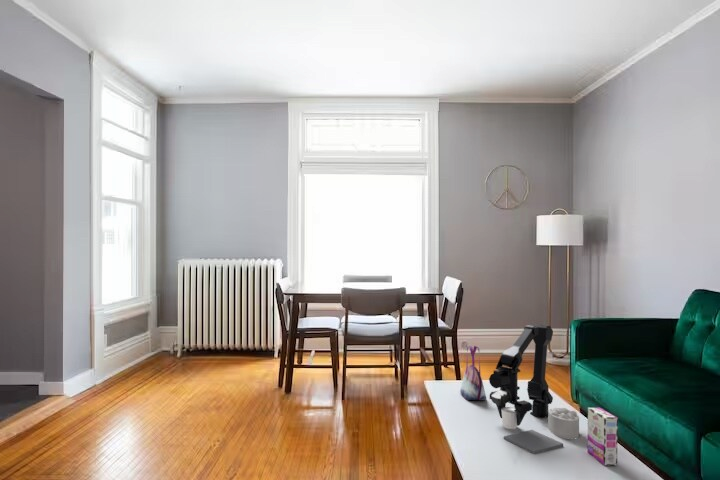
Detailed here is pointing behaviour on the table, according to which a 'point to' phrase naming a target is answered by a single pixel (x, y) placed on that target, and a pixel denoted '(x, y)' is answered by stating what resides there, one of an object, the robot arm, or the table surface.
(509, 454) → the table surface
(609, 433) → the candy bar box
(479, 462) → the table surface
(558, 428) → the lumpy-topped squat cylinder
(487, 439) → the table surface
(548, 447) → the charcoal mat
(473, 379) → the handbag
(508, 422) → the shot glass
